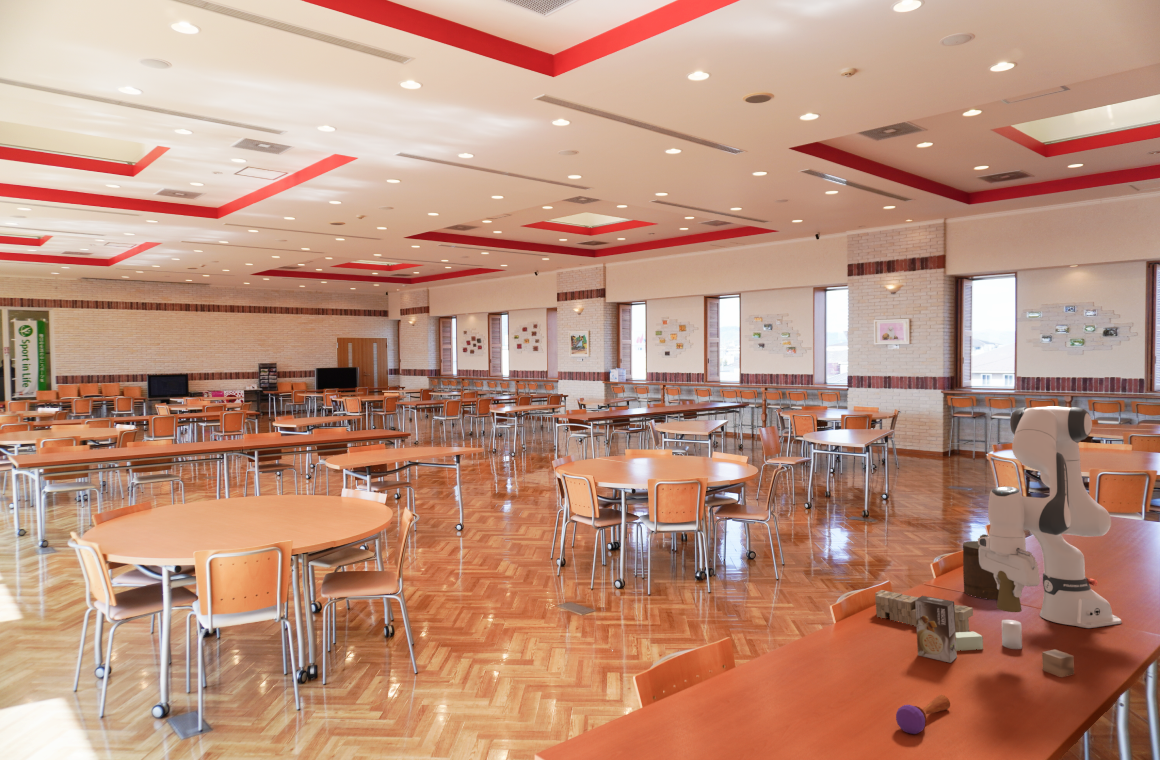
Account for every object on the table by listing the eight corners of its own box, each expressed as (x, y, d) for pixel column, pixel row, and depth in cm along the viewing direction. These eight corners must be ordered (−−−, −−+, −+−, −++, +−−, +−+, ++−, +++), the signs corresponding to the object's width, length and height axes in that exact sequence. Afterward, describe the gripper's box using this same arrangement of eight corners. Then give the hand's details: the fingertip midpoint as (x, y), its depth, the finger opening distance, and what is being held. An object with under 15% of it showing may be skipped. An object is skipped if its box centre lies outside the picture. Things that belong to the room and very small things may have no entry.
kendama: (958, 696, 165) (920, 717, 152) (953, 720, 165) (914, 742, 152) (933, 684, 169) (893, 703, 157) (928, 707, 170) (889, 727, 157)
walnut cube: (1055, 667, 189) (1055, 649, 189) (1074, 674, 184) (1073, 655, 184) (1042, 670, 187) (1042, 652, 187) (1061, 677, 182) (1060, 658, 183)
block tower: (872, 619, 234) (964, 638, 212) (871, 594, 234) (962, 611, 212) (883, 614, 239) (974, 632, 217) (881, 589, 239) (972, 605, 217)
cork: (1025, 612, 192) (1024, 573, 192) (1001, 611, 193) (1000, 572, 193) (1016, 606, 198) (1015, 567, 198) (993, 605, 199) (992, 567, 199)
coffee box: (957, 657, 198) (956, 601, 198) (950, 663, 193) (948, 606, 193) (924, 649, 204) (922, 594, 204) (916, 655, 200) (914, 599, 200)
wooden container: (992, 587, 262) (990, 530, 263) (1019, 599, 248) (1017, 538, 248) (955, 589, 262) (953, 531, 262) (980, 601, 247) (978, 540, 247)
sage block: (974, 644, 207) (973, 631, 207) (983, 649, 203) (982, 636, 203) (949, 646, 206) (948, 632, 206) (957, 651, 202) (956, 637, 202)
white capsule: (1014, 642, 207) (1013, 619, 207) (1026, 648, 202) (1025, 624, 202) (998, 643, 207) (997, 620, 207) (1010, 649, 202) (1009, 625, 202)
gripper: (1045, 552, 186) (1047, 604, 185) (993, 536, 206) (995, 582, 206) (1023, 554, 185) (1025, 605, 185) (973, 537, 205) (975, 583, 205)
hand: (1009, 593), depth 196 cm, fingers closed on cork, 5 cm apart
